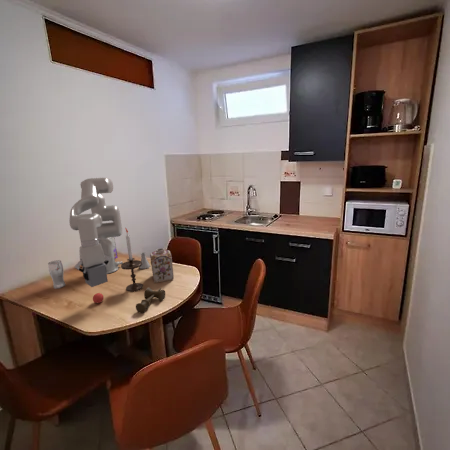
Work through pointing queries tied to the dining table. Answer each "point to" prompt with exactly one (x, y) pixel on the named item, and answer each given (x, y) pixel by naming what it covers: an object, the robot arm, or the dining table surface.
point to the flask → (144, 261)
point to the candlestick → (131, 267)
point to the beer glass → (56, 273)
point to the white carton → (113, 246)
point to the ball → (98, 298)
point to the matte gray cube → (96, 275)
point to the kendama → (149, 298)
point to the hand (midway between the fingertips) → (95, 276)
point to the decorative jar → (161, 265)
